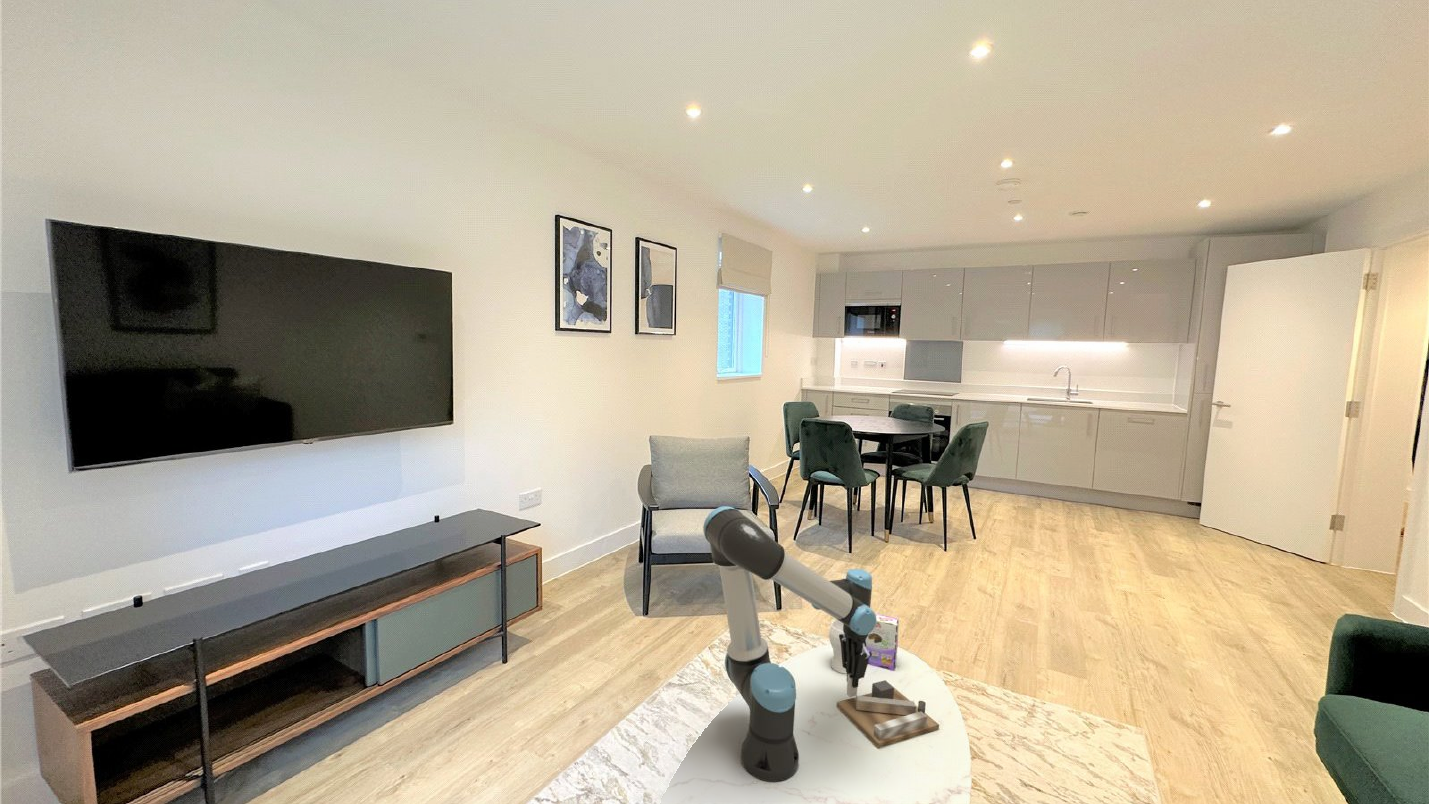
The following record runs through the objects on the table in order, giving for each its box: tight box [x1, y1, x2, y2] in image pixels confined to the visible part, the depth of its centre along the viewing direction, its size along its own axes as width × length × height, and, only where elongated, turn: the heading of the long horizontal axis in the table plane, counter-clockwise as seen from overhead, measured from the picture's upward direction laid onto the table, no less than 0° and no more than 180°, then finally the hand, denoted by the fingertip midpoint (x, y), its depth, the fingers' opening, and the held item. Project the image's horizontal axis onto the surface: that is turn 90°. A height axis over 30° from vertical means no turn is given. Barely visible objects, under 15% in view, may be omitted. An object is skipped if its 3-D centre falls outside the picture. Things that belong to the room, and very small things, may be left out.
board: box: [836, 687, 940, 750], centre depth 164 cm, size 22×19×6 cm
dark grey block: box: [871, 680, 895, 699], centre depth 170 cm, size 5×4×4 cm
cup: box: [828, 619, 847, 675], centre depth 189 cm, size 11×11×15 cm
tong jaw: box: [855, 695, 917, 715], centre depth 165 cm, size 17×2×3 cm, turn 84°
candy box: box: [866, 613, 900, 671], centre depth 193 cm, size 14×6×16 cm, turn 65°
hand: (851, 694), depth 170 cm, fingers closed
